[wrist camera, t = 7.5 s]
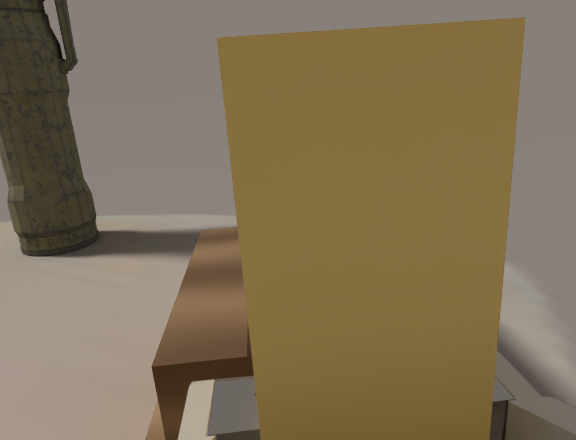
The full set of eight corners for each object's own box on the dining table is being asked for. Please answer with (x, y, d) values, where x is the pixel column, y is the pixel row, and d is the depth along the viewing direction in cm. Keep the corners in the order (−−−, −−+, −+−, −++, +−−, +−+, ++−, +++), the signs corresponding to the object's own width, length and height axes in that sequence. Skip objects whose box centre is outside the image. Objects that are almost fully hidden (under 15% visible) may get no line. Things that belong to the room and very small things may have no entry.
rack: (518, 490, 18) (535, 341, 16) (122, 540, 17) (86, 390, 15) (386, 292, 35) (386, 210, 33) (188, 312, 34) (175, 228, 32)
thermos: (113, 244, 51) (44, -100, 41) (-1, 264, 47) (-109, -111, 37) (113, 225, 59) (55, -68, 49) (15, 241, 55) (-71, -74, 45)
